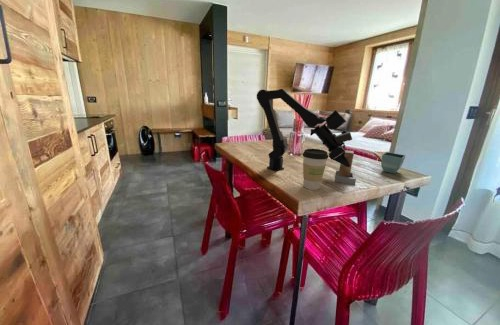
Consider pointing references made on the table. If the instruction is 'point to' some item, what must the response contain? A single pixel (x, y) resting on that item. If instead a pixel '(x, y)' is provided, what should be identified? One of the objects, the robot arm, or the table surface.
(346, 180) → the u-shaped bracket
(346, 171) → the wooden block
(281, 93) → the robot arm
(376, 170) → the table surface
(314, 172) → the coffee cup
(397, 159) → the flower pot
